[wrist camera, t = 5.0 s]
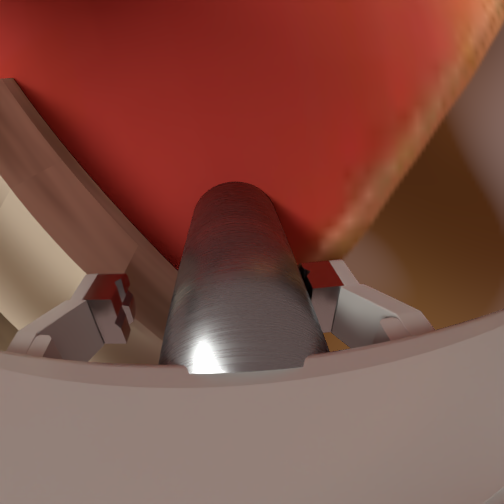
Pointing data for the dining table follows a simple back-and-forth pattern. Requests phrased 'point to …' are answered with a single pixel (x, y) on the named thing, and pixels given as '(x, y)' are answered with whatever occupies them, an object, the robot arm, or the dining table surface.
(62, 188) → the socket block
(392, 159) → the dining table surface
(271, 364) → the pin
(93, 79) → the dining table surface
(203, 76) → the dining table surface
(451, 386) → the robot arm
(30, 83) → the dining table surface
